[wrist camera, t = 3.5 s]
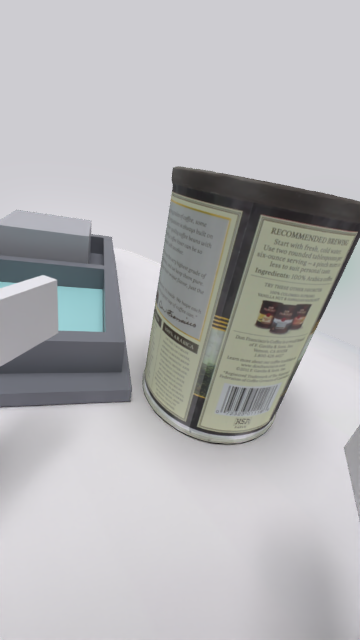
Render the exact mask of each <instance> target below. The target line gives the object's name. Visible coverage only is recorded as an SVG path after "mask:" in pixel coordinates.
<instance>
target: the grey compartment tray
mask: <svg viewBox="0 0 360 640" xmlns="http://www.w3.org/2000/svg"><path fill="white" fill-rule="evenodd" d="M41 275H45V276H48V277H50V278H53V279H56V280H57V294H58V333H57V334H56V335H54V336H52V337H50V338H49V339H47V340H45V341H44V342H42V343H40V344H38V345H37V346H35V347H33V348H31V349H30V350H28V351H26V352H25V353H23V354H21V355H19V356H18V357H16V358H14V359H13V360H11V361H9V362H7V363H6V364H4V365H2V366H0V407H8V406H31V405H54V404H77V403H99V402H122V401H130V399H131V392H132V387H131V380H130V372H129V364H128V356H127V349H126V341H125V333H124V325H123V318H122V310H121V302H120V294H119V286H118V279H117V271H116V263H115V255H114V251H113V243H112V237H109V236H101V235H93V234H91V221H90V220H83V219H76V218H69V217H63V216H55V215H48V214H41V213H35V212H28V211H21V210H16V211H14V212H12V213H11V214H9V215H7V216H6V217H4V218H2V219H1V220H0V288H3V287H6V286H9V285H12V284H16V283H19V282H22V281H25V280H28V279H32V278H35V277H38V276H41Z"/></svg>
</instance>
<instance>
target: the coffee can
mask: <svg viewBox="0 0 360 640" xmlns="http://www.w3.org/2000/svg"><path fill="white" fill-rule="evenodd" d="M172 183H173V190H172V196H171V202H170V209H169V216H168V222H167V229H166V235H165V242H164V249H163V256H162V262H161V269H160V276H159V282H158V289H157V295H156V302H155V309H154V315H153V322H152V328H151V334H150V342H149V348H148V355H147V361H146V367H145V370H144V373H143V389H144V393H145V395H146V398H147V400H148V402H149V403H150V405H151V406H152V407H153V409H154V410H155V412H156V413H157V414H158V415H159V416H161V417H162V418H163V419H164V420H165V421H166V422H167V423H168V424H170V425H172V426H173V427H174V428H176V429H177V430H179V431H181V432H183V433H185V434H187V435H189V436H192V437H194V438H197V439H200V440H204V441H207V442H214V443H226V444H231V443H241V442H246V441H249V440H252V439H254V438H257V437H258V436H260V435H262V434H264V433H265V432H266V431H267V430H268V428H269V427H270V426H271V425H272V423H273V421H274V418H275V415H276V412H277V410H278V408H279V406H280V404H281V402H282V399H283V397H284V396H285V393H286V391H287V389H288V386H289V384H290V382H291V380H292V378H293V376H294V374H295V372H296V370H297V368H298V366H299V363H300V361H301V359H302V357H303V355H304V353H305V351H306V349H307V347H308V344H309V342H310V340H311V338H312V336H313V334H314V332H315V330H316V328H317V325H318V323H319V321H320V319H321V317H322V315H323V313H324V311H325V309H326V307H327V305H328V303H329V301H330V299H331V296H332V294H333V292H334V290H335V288H336V286H337V284H338V282H339V280H340V278H341V276H342V274H343V272H344V269H345V267H346V265H347V263H348V261H349V259H350V257H351V255H352V253H353V250H354V248H355V246H356V244H357V242H358V240H359V238H360V202H359V201H355V200H352V199H347V198H342V197H337V196H334V195H330V194H325V193H320V192H316V191H309V190H305V189H300V188H295V187H291V186H285V185H281V184H276V183H270V182H265V181H260V180H254V179H249V178H245V177H239V176H234V175H228V174H223V173H216V172H212V171H206V170H200V169H192V168H185V167H175V168H173V172H172Z"/></svg>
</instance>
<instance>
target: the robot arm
mask: <svg viewBox="0 0 360 640" xmlns="http://www.w3.org/2000/svg"><path fill="white" fill-rule="evenodd" d="M57 333H58V294H57V280H56V279H53V278H50V277H48V276H45V275H41V276H38V277H35V278H32V279H28V280H25V281H22V282H19V283H16V284H12V285H9V286H6V287H3V288H0V366H2V365H4V364H6V363H7V362H9V361H11V360H13V359H14V358H16V357H18V356H19V355H21V354H23V353H25V352H26V351H28V350H30V349H31V348H33V347H35V346H37V345H38V344H40V343H42V342H44V341H45V340H47V339H49V338H50V337H52V336H54V335H56V334H57ZM344 450H345V455H346V460H347V464H348V469H349V474H350V478H351V483H352V488H353V492H354V497H355V502H356V506H357V511H358V516H359V520H360V425H359V427H358V428H357V430H356V431H355V432H354V434H353V435H352V437H351V438H350V440H349V441H348V442H347V444H346V445H345V447H344Z"/></svg>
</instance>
